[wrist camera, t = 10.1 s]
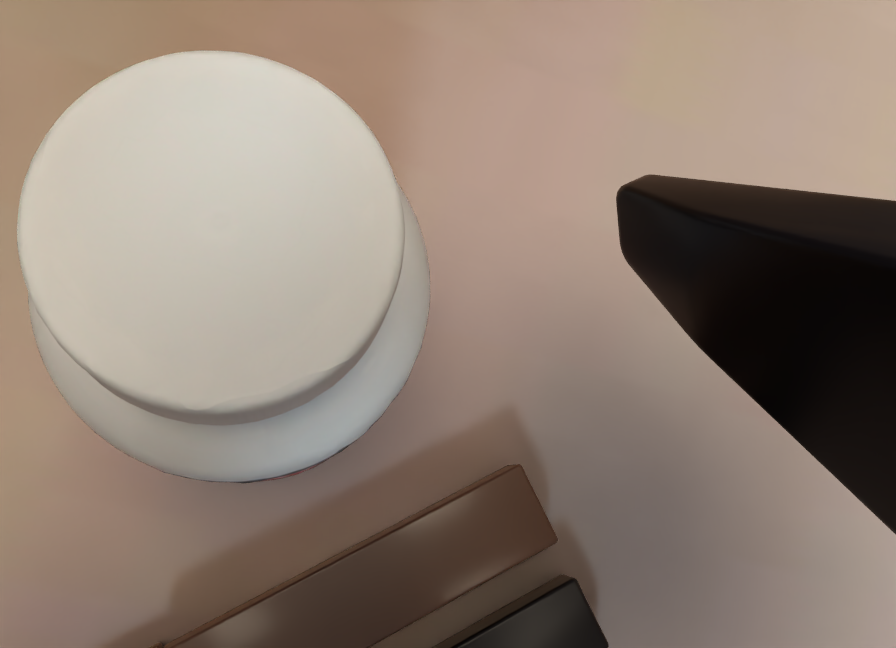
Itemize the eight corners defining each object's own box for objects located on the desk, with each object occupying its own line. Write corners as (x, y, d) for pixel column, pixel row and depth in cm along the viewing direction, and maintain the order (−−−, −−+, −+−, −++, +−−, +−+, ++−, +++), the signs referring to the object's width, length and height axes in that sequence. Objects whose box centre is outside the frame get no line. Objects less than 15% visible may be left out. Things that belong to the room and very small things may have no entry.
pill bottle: (97, 456, 17) (-145, 422, 8) (164, 211, 18) (22, -78, 9) (357, 504, 18) (423, 527, 9) (406, 266, 19) (510, 52, 10)
